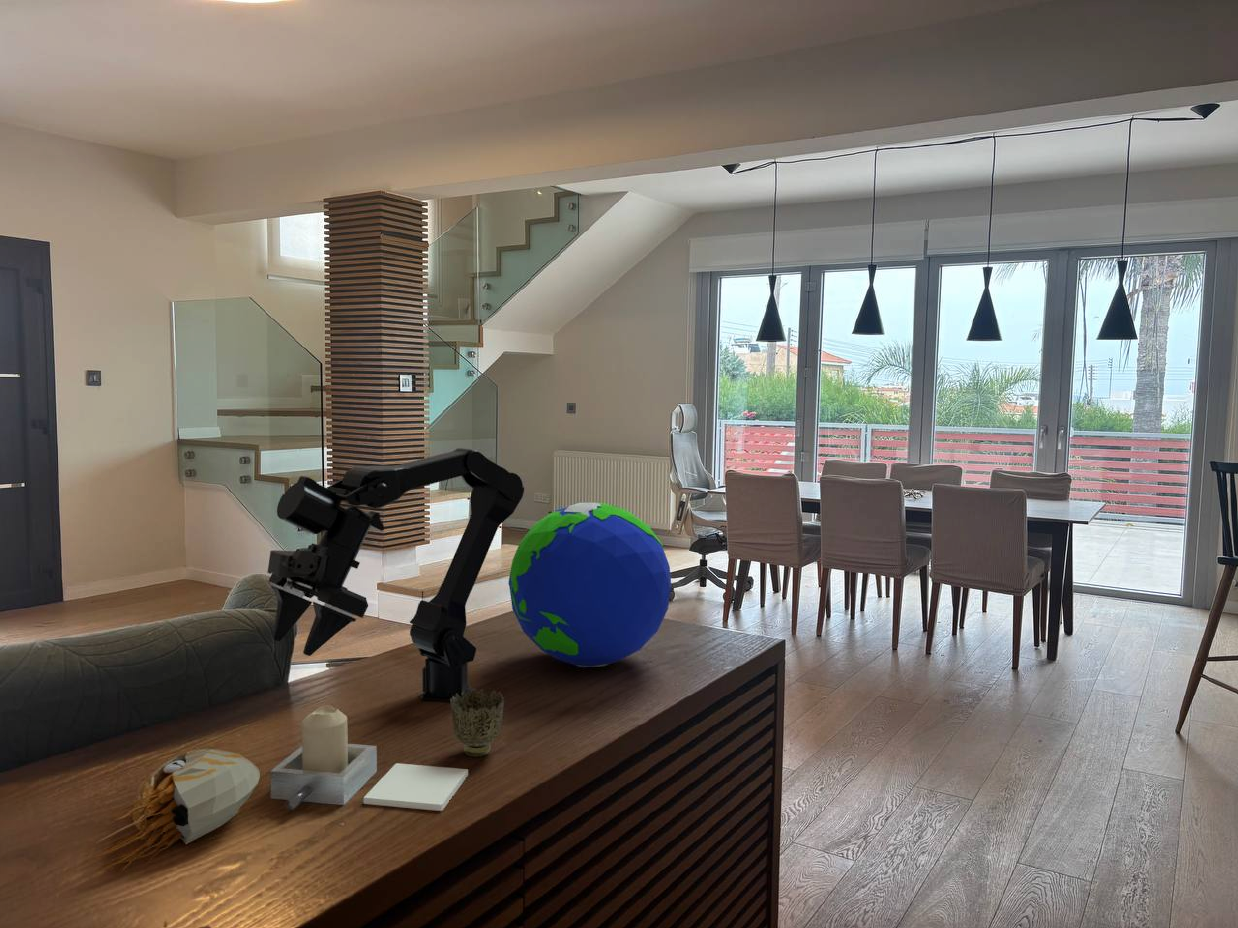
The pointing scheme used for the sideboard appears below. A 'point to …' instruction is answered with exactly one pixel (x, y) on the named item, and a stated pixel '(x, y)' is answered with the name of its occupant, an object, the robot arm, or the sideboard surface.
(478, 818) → the sideboard surface
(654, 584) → the globe
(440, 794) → the tile
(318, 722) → the candle
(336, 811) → the sideboard surface
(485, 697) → the cup
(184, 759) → the nautilus
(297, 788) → the small drawer with knob
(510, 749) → the sideboard surface
